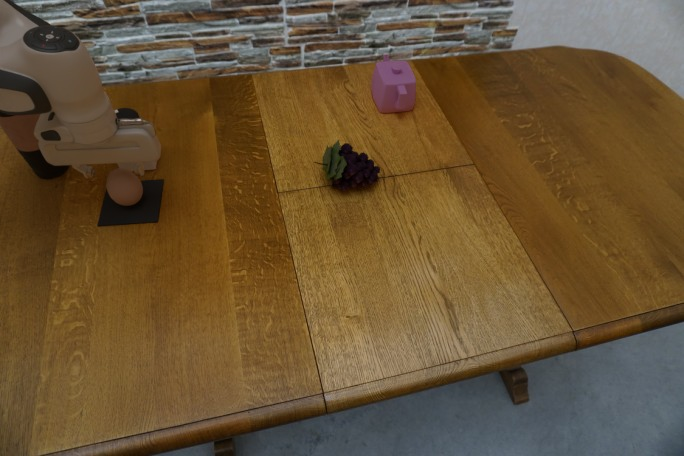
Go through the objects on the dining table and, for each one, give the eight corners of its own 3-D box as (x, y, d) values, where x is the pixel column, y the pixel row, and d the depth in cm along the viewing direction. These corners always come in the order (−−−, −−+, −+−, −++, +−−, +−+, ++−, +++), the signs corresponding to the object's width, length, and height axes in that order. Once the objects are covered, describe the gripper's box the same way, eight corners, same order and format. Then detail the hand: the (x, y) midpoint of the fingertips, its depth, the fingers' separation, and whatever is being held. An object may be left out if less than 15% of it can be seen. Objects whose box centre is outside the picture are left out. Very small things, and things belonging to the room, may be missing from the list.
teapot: (365, 80, 129) (368, 46, 121) (401, 77, 130) (406, 44, 122) (380, 122, 118) (384, 89, 110) (419, 118, 120) (426, 85, 112)
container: (158, 146, 110) (141, 102, 99) (156, 170, 105) (138, 125, 95) (124, 149, 109) (104, 104, 98) (121, 173, 104) (99, 128, 94)
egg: (113, 215, 96) (97, 185, 89) (116, 191, 100) (101, 161, 93) (146, 211, 97) (133, 181, 90) (148, 188, 101) (135, 158, 94)
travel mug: (35, 184, 101) (-18, 111, 85) (33, 161, 105) (-18, 87, 89) (72, 174, 103) (27, 101, 87) (69, 152, 107) (25, 78, 91)
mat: (97, 226, 95) (97, 225, 95) (108, 183, 102) (107, 182, 102) (157, 222, 96) (157, 221, 96) (163, 180, 103) (163, 179, 103)
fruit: (372, 202, 106) (309, 194, 102) (369, 164, 111) (309, 155, 107) (389, 178, 97) (321, 168, 93) (385, 138, 102) (320, 127, 98)
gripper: (153, 107, 84) (171, 161, 95) (33, 110, 82) (66, 165, 93) (148, 130, 80) (168, 183, 91) (23, 134, 78) (58, 189, 89)
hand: (115, 174), depth 92 cm, fingers open, 8 cm apart
